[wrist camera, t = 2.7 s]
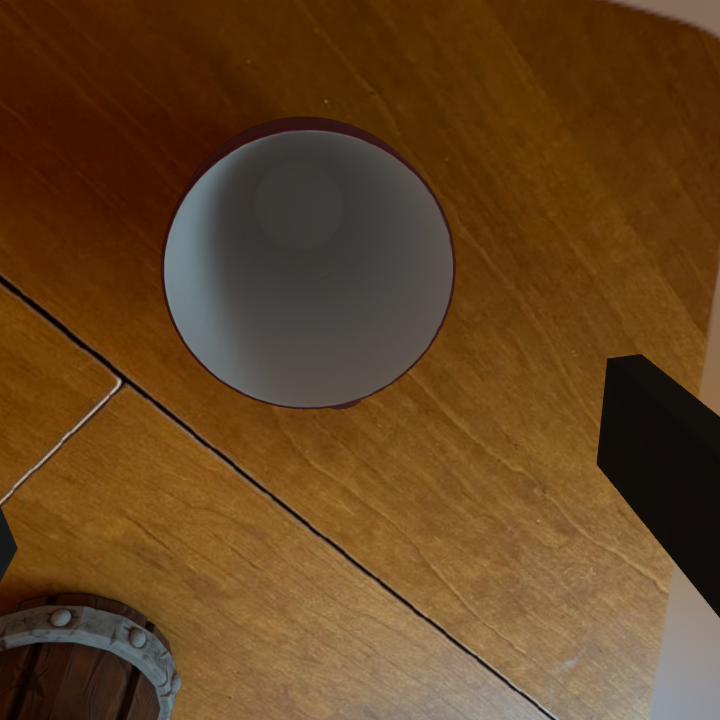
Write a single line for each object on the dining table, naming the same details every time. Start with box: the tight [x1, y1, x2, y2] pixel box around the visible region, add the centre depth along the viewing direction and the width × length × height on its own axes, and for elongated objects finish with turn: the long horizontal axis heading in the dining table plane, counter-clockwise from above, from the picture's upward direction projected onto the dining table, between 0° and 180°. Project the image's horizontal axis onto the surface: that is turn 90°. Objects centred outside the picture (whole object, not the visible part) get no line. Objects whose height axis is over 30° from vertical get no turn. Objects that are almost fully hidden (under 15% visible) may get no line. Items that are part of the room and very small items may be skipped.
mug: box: [161, 117, 456, 409], centre depth 22 cm, size 10×8×10 cm
